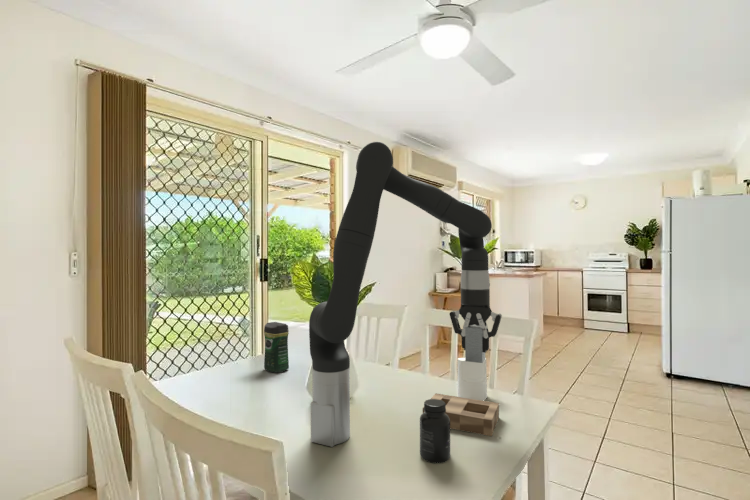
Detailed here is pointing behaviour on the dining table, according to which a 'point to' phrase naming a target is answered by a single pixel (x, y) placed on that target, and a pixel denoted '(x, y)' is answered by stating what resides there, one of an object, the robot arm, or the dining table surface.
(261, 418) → the dining table surface
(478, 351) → the steel square peg
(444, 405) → the supplement bottle
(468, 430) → the socket board
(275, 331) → the coffee jar
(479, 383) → the white upright block
